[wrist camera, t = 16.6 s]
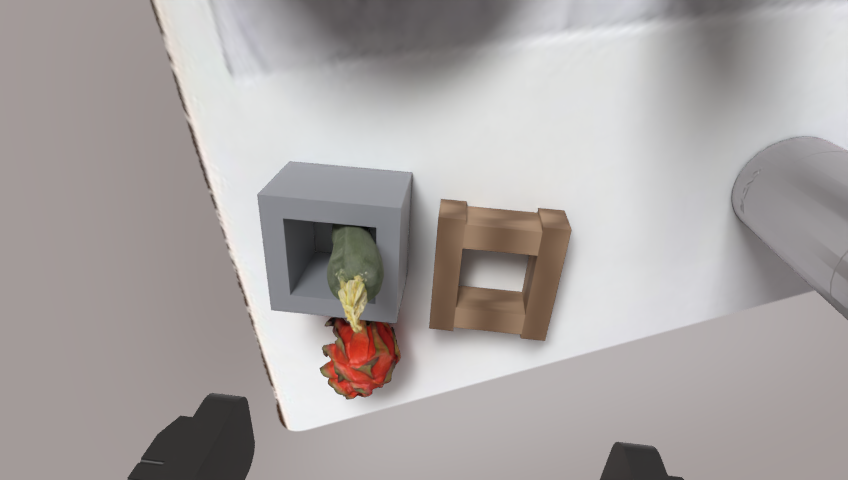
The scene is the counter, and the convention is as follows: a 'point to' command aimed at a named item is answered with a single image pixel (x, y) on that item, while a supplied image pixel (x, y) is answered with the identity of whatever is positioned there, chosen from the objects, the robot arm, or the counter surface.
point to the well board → (499, 233)
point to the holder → (342, 204)
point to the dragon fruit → (360, 357)
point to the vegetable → (354, 270)
